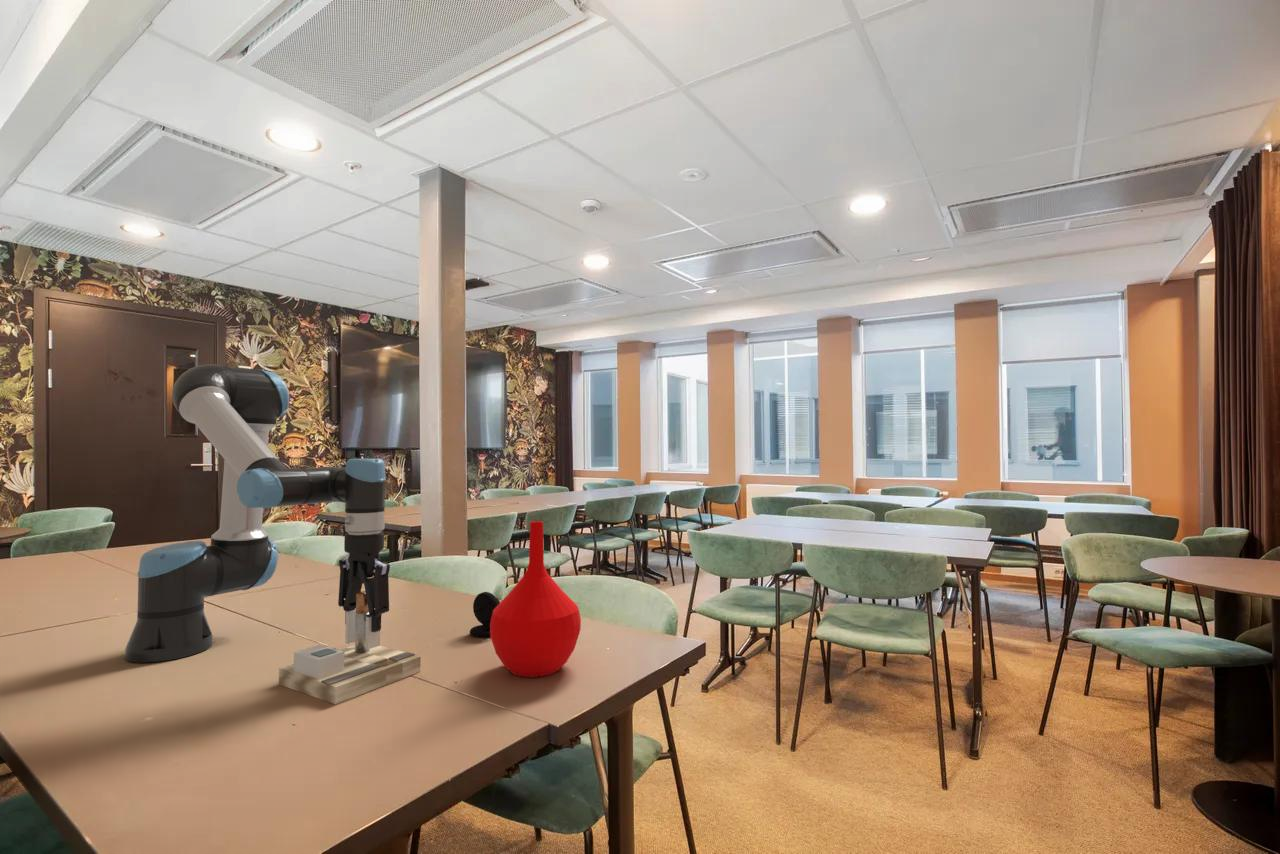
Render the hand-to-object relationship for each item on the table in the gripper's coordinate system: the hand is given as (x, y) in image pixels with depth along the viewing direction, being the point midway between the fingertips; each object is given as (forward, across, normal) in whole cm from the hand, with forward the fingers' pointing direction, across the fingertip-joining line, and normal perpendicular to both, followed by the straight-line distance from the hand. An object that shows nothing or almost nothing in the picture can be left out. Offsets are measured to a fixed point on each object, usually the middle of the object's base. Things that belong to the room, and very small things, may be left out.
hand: (362, 644), depth 122 cm
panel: (+4, +4, -5) cm, 8 cm away
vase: (+5, +32, +17) cm, 37 cm away
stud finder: (+1, +3, -11) cm, 11 cm away
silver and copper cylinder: (+1, 0, 0) cm, 1 cm away
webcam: (+5, +6, +29) cm, 30 cm away
